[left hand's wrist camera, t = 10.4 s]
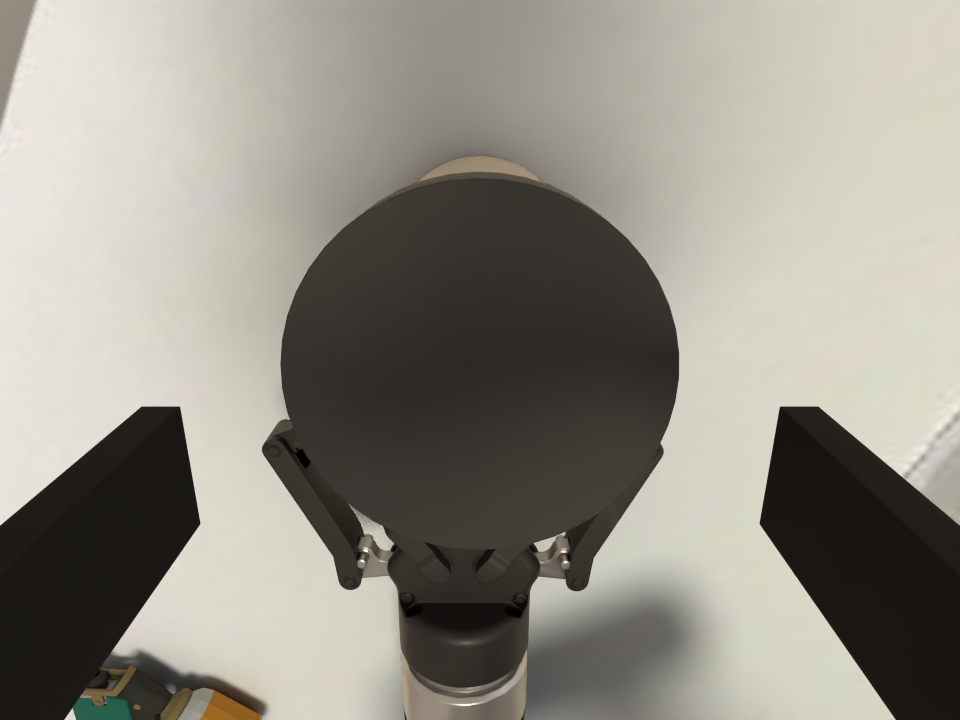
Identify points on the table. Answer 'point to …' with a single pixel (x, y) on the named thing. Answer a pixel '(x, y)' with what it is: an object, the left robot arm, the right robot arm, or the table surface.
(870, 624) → the left robot arm
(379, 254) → the lid
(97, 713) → the spray gun
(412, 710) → the right robot arm
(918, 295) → the table surface
